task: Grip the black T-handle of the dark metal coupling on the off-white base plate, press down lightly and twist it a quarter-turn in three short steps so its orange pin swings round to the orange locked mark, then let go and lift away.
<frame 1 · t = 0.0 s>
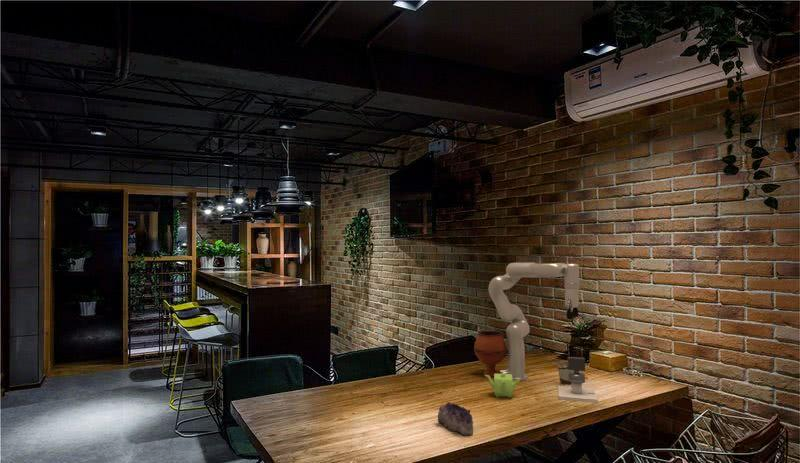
hand: (572, 318, 250), 37 cm above the table, fingers open, 9 cm apart
goblet: (490, 374, 275), on the table, touching arm
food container: (567, 383, 256), on the table
geode: (458, 427, 195), on the table
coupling: (577, 369, 236), point 13 cm above the table, hinge at 0.0°
post base: (576, 395, 235), on the table
kettle: (502, 396, 236), on the table
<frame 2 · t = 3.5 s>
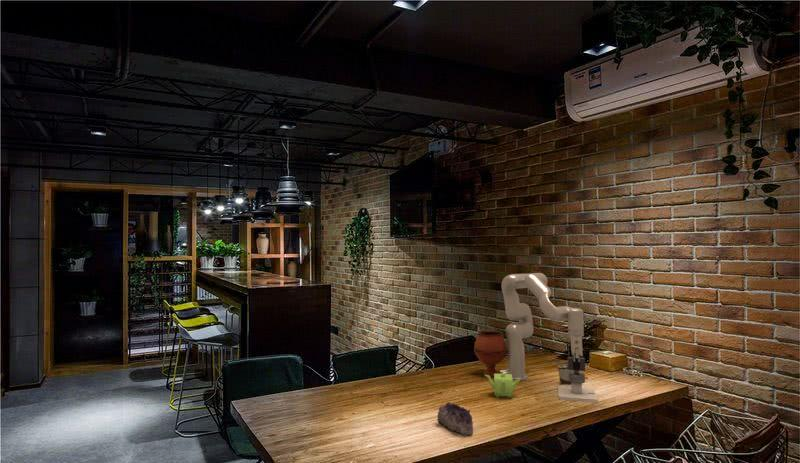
hand: (576, 368, 236), 14 cm above the table, fingers closed on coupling, 3 cm apart
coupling: (577, 369, 236), point 13 cm above the table, hinge at -0.1°, touching gripper
everything else where it was.
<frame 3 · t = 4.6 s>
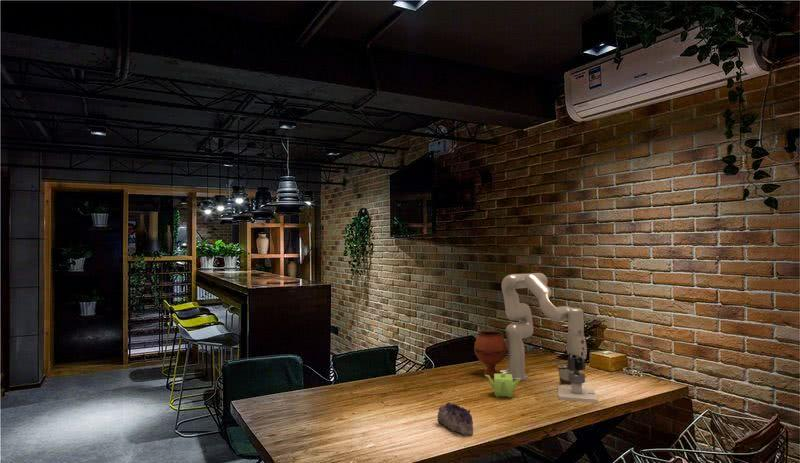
hand: (576, 368, 236), 14 cm above the table, fingers closed on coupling, 3 cm apart
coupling: (577, 369, 236), point 13 cm above the table, hinge at 31.5°, touching gripper
everything else where it was.
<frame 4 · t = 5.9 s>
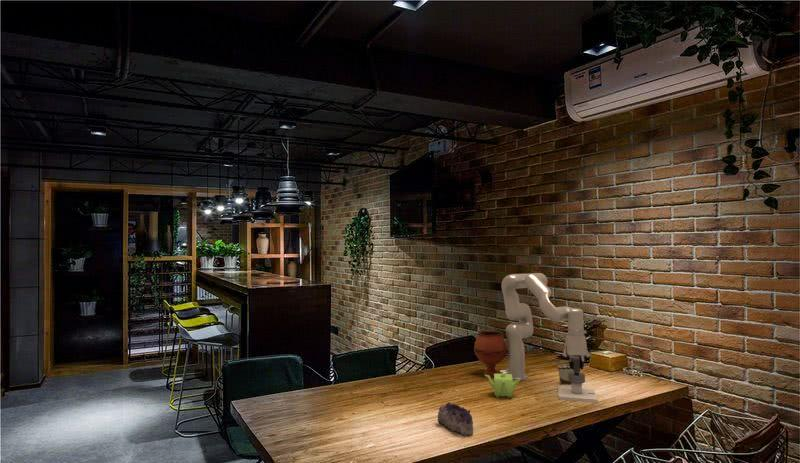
hand: (576, 368, 236), 14 cm above the table, fingers closed on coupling, 4 cm apart
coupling: (576, 369, 236), point 13 cm above the table, hinge at 88.8°, touching gripper
everything else where it was.
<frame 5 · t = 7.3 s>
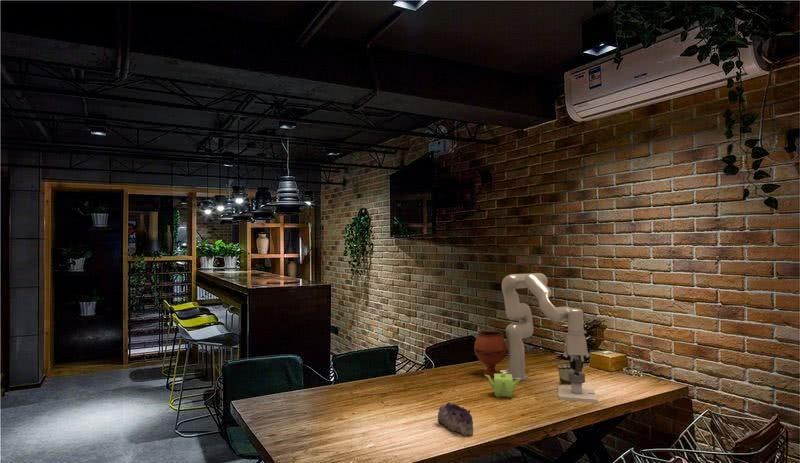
hand: (576, 368, 236), 14 cm above the table, fingers open, 3 cm apart
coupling: (576, 369, 237), point 13 cm above the table, hinge at 102.3°
everything else where it was.
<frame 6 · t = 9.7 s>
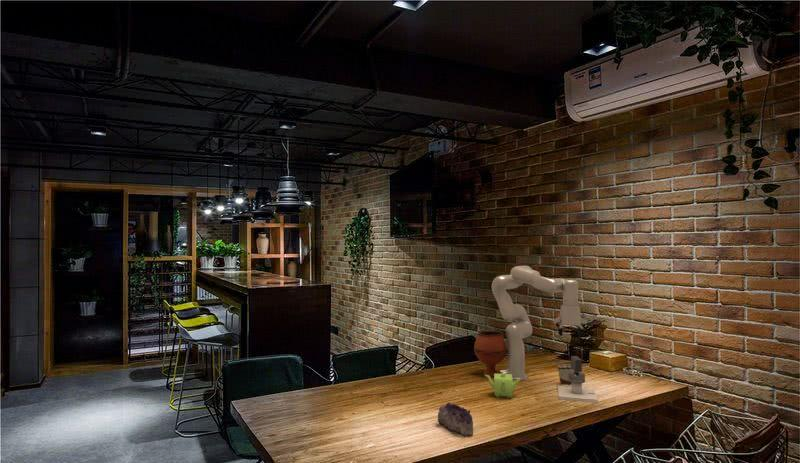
hand: (570, 335, 243), 29 cm above the table, fingers open, 9 cm apart
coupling: (576, 369, 237), point 13 cm above the table, hinge at 102.8°
everything else where it was.
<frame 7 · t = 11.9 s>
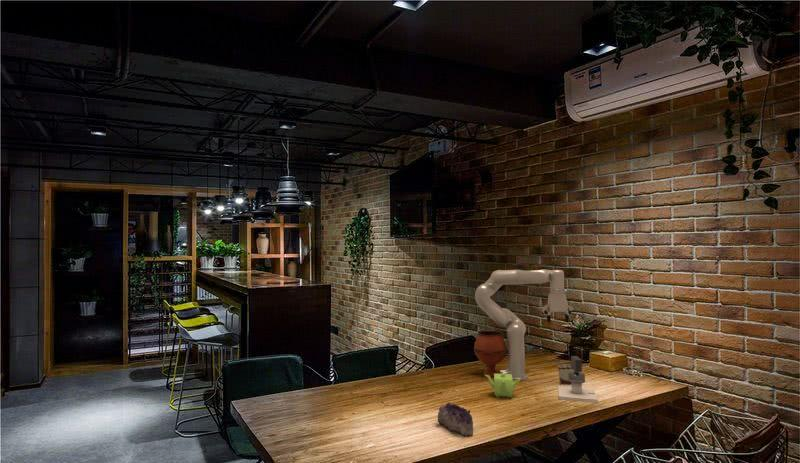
hand: (557, 322, 261), 33 cm above the table, fingers open, 9 cm apart
nothing on the table moved.
at the end: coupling at +103° (first picture: +0°); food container moved 0.2 cm from its start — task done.
